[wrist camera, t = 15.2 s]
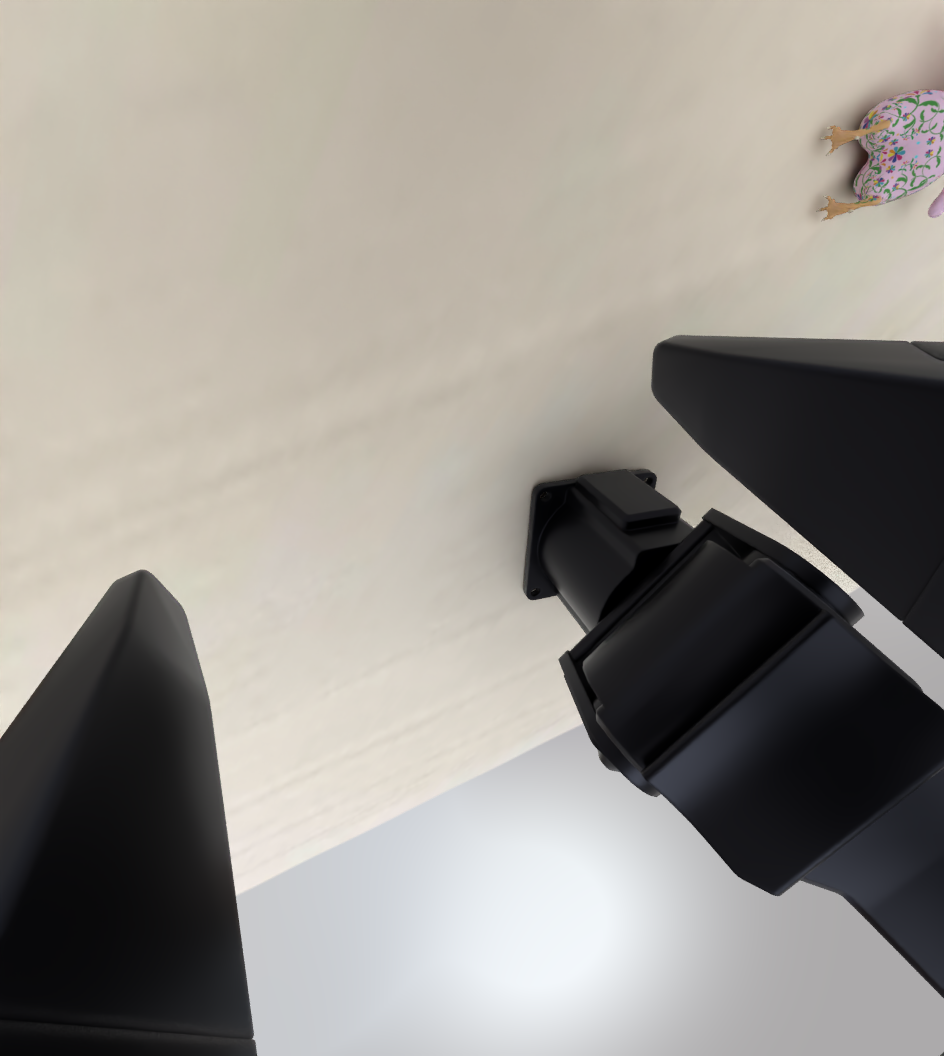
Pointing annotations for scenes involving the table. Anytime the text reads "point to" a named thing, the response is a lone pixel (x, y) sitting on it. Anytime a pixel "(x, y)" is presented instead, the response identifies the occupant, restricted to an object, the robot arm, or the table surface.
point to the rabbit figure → (896, 151)
